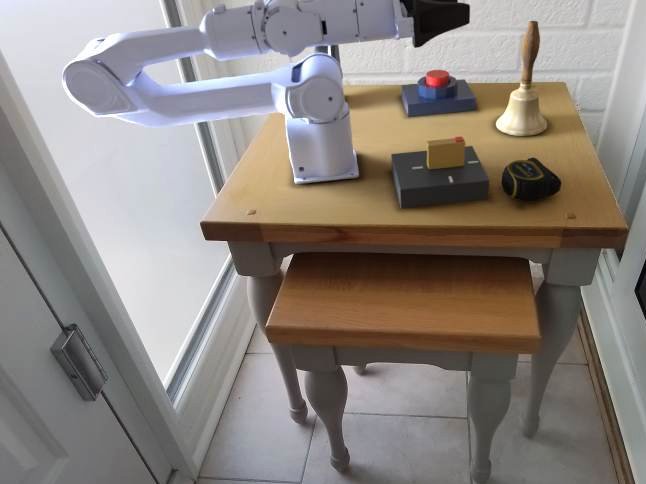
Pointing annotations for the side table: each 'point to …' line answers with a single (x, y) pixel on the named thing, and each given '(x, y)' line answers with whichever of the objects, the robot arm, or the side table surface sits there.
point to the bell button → (437, 78)
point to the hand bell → (525, 93)
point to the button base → (437, 97)
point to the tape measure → (529, 180)
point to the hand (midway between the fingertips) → (463, 6)
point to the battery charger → (329, 51)
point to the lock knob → (445, 153)
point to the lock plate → (438, 180)
